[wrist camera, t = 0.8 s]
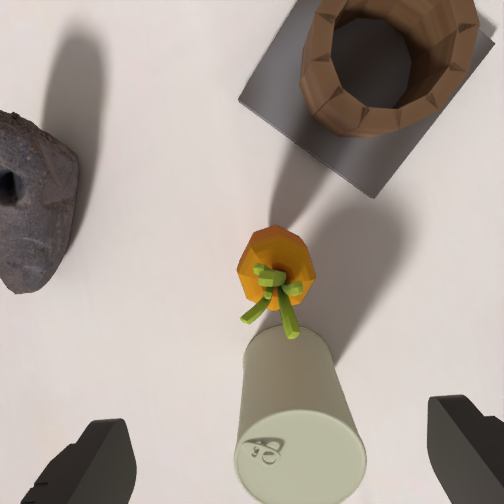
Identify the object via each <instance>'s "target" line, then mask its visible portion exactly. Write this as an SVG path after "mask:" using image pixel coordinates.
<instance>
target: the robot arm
mask: <svg viewBox="0 0 504 504" xmlns="http://www.w3.org/2000/svg"><path fill="white" fill-rule="evenodd" d="M427 450H428V455H429V459H430V462H431V465H432V468H433V470H434V472H435V474H436V476H437V478H438V480H439V482H440V483H441V485H442V487H443V489H444V491H445V492H446V494H447V496H448V498H449V500H450V501H451V503H452V504H504V422H502V421H501V420H499V419H498V418H496V417H495V416H485V417H484V416H483V414H482V413H481V412H480V411H479V410H478V409H477V408H476V407H475V405H474V404H473V403H472V402H471V401H470V400H469V399H468V398H467V397H466V396H464V395H447V396H434V397H430V398H429V401H428V424H427ZM136 473H137V466H136V460H135V456H134V453H133V449H132V445H131V441H130V437H129V433H128V430H127V426H126V423H125V421H124V420H123V419H121V418H119V419H105V420H94V421H92V422H91V423H90V424H89V425H88V426H87V428H86V429H85V431H84V432H83V433H82V435H81V436H80V438H79V439H78V441H77V442H76V443H74V444H69V445H68V446H67V447H66V448H65V449H64V450H63V451H62V452H60V453H59V454H58V455H57V456H56V457H55V458H54V459H53V460H51V461H50V462H49V464H48V465H47V466H46V468H45V469H44V471H43V472H42V473H41V475H40V476H39V477H38V479H37V480H36V482H35V483H34V487H33V488H30V490H29V491H28V493H27V494H26V495H25V497H24V498H23V499H22V501H21V504H128V502H129V500H130V497H131V495H132V492H133V489H134V486H135V481H136Z"/></svg>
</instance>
